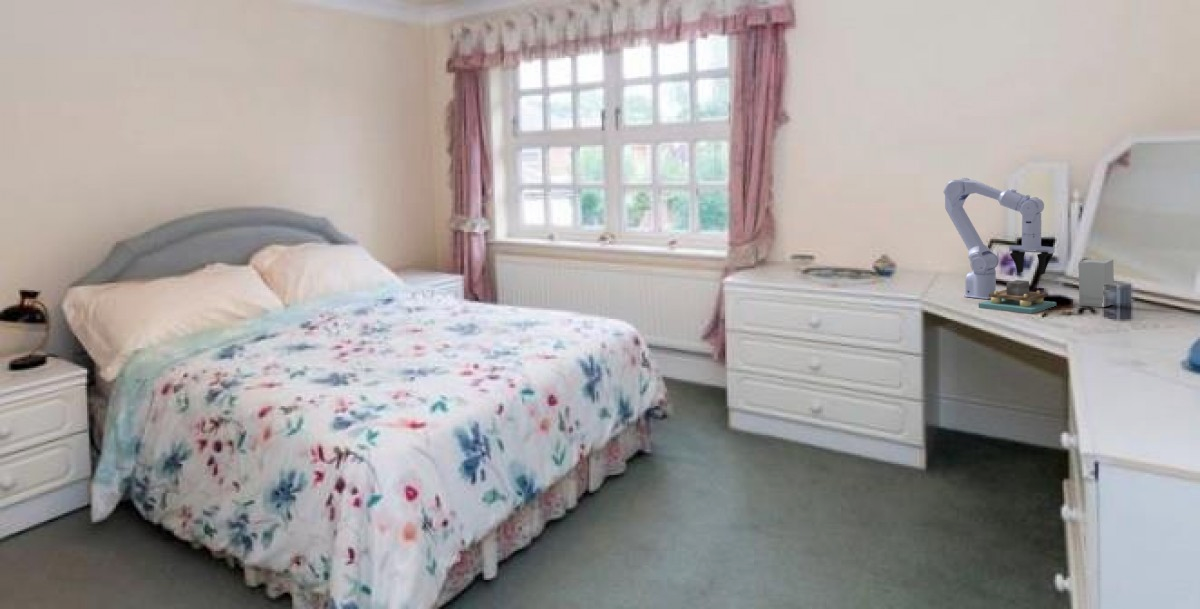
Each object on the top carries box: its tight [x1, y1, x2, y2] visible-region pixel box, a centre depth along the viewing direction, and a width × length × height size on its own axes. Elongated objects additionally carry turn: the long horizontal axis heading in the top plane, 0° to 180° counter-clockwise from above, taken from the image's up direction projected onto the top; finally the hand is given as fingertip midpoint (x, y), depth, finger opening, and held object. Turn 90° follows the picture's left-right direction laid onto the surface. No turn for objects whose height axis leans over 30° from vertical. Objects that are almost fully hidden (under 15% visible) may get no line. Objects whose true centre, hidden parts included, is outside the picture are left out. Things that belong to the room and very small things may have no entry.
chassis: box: [978, 290, 1057, 315], centre depth 247 cm, size 18×14×6 cm
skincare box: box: [1078, 258, 1115, 308], centre depth 239 cm, size 8×6×15 cm
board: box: [989, 279, 1048, 301], centre depth 247 cm, size 14×10×5 cm
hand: (1030, 273), depth 255 cm, fingers open, 7 cm apart
